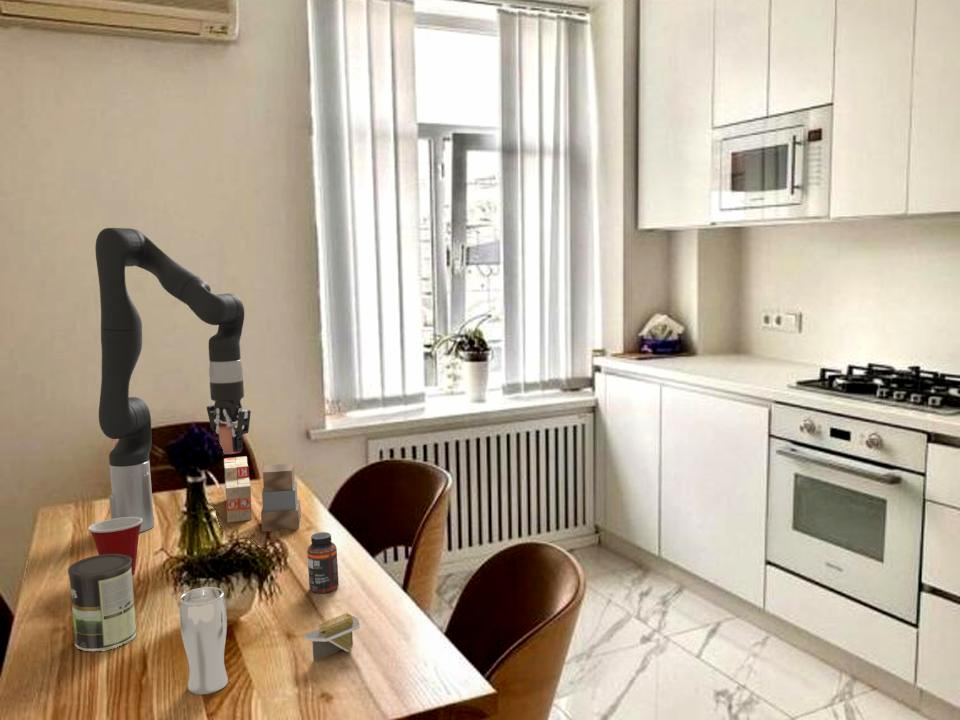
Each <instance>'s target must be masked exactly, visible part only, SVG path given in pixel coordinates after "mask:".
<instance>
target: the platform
mask: <svg viewBox="0 0 960 720" xmlns="http://www.w3.org/2000/svg"><path fill="white" fill-rule="evenodd" d="M343 616H344V617H345V618H342V617H343ZM324 624H327V625H324ZM318 625H319V628H318V629H316V630H313V631H310V632H308V633H305V634H304V639H305V640H307V641H308V642H312V658H313V659H312V662H315V661H317V660H316V659H318V660H320V659H322V657H323V658H324V656H325V657H327V656H330V655H332V654H334V653H333V652H335V653H337V652H339V651H341V649H342V650H343V651H345V652H347V653H348V652H351V651H352V646H353V645H354V644H353V643H354V642H353V641H354V639H353V638H354V636H353V632H354V631H356V630H359V629H360V622H359V619H358V617H356V616H354V615H352V614H350V613H348V612H345V613H343V614H340V615H338V616H335V617H332V618H331V619H328V620H325V621H322V622H320V623H318ZM336 651H337V652H336ZM331 653H332V654H331ZM329 654H330V655H329ZM319 658H320V659H319ZM314 660H315V661H314Z"/></svg>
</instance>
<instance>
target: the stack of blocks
mask: <svg viewBox="0 0 960 720" xmlns="http://www.w3.org/2000/svg"><path fill="white" fill-rule="evenodd" d="M223 467H224V469H223V470H224V483H225V484H224V485H225V498H226V518H227V519H226V520H227V523H233V522H234V523H236V522H242V521H244V522H245V521H252V517H253V516H252V498H251V497H252V489H251V488H252V487H251V482H250V470H249V465H248V457H247V456H246V455H245V456H235V457H226V458H223Z"/></svg>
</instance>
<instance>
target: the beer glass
mask: <svg viewBox="0 0 960 720" xmlns="http://www.w3.org/2000/svg"><path fill="white" fill-rule="evenodd" d="M227 617H228V616H227V608H226V601H225V594H224V590H223V589H222V588H220V587H216V586H215V587H214V586H204V587H198V588H194V589H191V590H188V591H186V592H184V593H183V594H182V595H180V597H179V623H180V624H179V626H180V635H181V639H182V643H183V646H184V649H185V654H186V657H187V661H188V667H189V669H188V670H189V676H188V684H187V689H188V691H189V692H190V693H191V694H194V695H200V696H201V695H209V694H214V693H217V692H219V691H221V690H222V689H224V688H225V687H226V686H227V684H228V683H229V679H228V674H227V670H226V667H225V648H226V647H225V646H226V638H227V630H228V628H227V627H228V621H227V619H228V618H227Z"/></svg>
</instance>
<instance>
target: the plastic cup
mask: <svg viewBox="0 0 960 720" xmlns="http://www.w3.org/2000/svg"><path fill="white" fill-rule="evenodd" d="M142 522H143V519H142V518H139V517H123V518H115V519H111V518H110V519H107V520H102V521H101V520H100V521H99V522H94V523H93V524H91V525H89V526H88V531H89V532H90V533H91V536H92V538H93V542H95V547H96V550H97V555H103V554H123V555H127V556H129V557H130V558H131V559H132V564H131V570H132V577H133V576H134V575H135V571H136V566H137V565H136V562H137V558H138V550H139V549H138V547H139V546H138V545H139V537H140V533H141V532H140V526H141V523H142Z"/></svg>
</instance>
